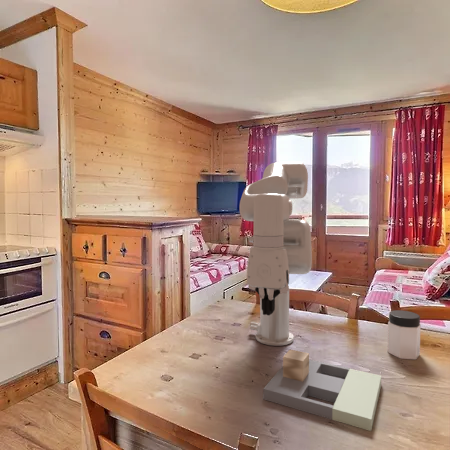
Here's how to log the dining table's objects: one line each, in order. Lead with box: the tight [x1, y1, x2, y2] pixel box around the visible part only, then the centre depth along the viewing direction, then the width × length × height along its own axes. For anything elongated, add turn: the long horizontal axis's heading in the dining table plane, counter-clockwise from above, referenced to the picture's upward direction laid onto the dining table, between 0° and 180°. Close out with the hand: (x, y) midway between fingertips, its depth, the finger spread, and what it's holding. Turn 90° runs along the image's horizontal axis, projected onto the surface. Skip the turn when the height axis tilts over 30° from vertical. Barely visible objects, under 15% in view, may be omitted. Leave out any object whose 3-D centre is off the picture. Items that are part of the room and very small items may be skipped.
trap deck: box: [262, 358, 382, 432], centre depth 82 cm, size 23×20×2 cm
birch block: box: [282, 349, 310, 382], centre depth 85 cm, size 5×5×5 cm
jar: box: [387, 309, 422, 360], centre depth 103 cm, size 9×8×12 cm
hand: (268, 313), depth 88 cm, fingers closed
